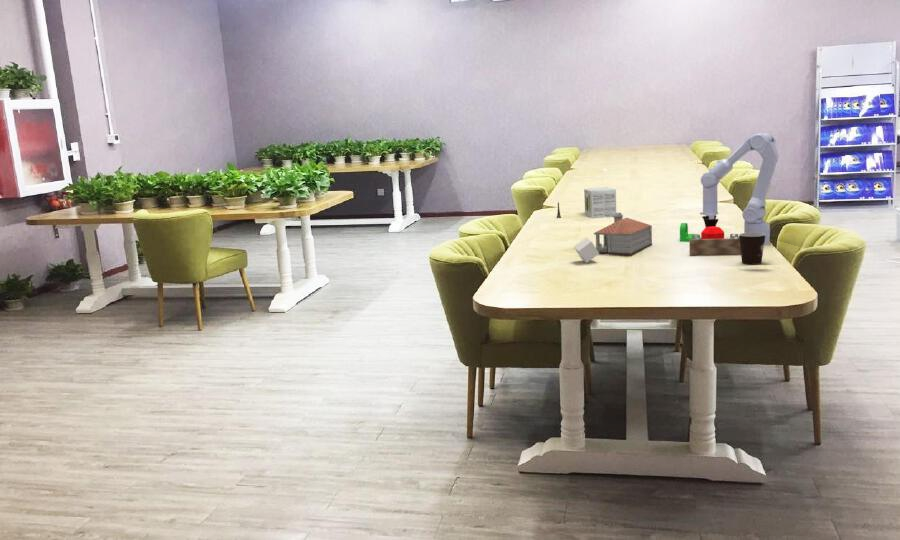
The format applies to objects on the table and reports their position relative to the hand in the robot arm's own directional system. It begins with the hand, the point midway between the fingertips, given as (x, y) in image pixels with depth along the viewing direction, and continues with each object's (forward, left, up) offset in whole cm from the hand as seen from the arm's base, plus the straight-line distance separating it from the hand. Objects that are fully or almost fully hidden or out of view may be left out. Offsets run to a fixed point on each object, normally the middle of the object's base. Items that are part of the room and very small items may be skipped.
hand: (710, 234), depth 316 cm
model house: (+35, +17, -3) cm, 39 cm away
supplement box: (+48, -67, -3) cm, 83 cm away
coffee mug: (-11, +48, -3) cm, 49 cm away
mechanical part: (+8, -4, -3) cm, 9 cm away
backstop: (0, +32, -3) cm, 32 cm away
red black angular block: (0, +12, -3) cm, 12 cm away
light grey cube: (+48, +41, -3) cm, 63 cm away
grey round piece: (0, +25, -3) cm, 25 cm away
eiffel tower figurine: (+69, -63, -4) cm, 93 cm away
